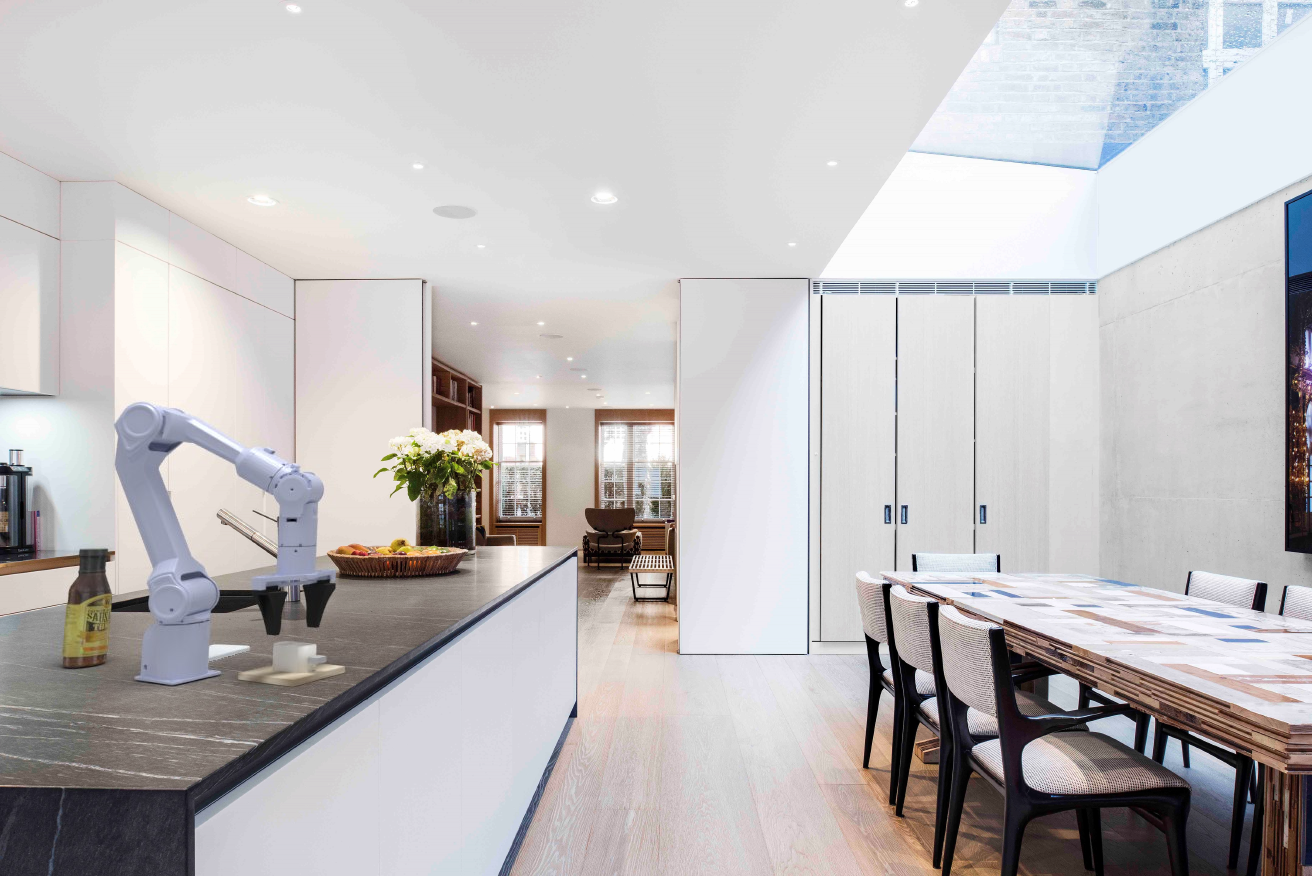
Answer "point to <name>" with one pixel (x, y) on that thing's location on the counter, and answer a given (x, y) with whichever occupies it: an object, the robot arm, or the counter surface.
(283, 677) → the birch board
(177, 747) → the counter surface
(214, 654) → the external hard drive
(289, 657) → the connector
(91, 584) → the sauce bottle
